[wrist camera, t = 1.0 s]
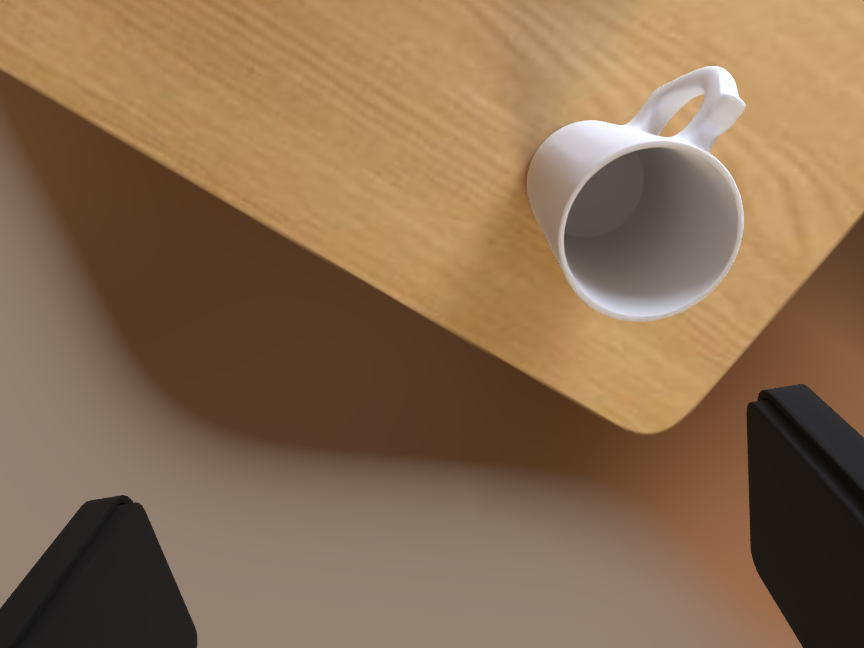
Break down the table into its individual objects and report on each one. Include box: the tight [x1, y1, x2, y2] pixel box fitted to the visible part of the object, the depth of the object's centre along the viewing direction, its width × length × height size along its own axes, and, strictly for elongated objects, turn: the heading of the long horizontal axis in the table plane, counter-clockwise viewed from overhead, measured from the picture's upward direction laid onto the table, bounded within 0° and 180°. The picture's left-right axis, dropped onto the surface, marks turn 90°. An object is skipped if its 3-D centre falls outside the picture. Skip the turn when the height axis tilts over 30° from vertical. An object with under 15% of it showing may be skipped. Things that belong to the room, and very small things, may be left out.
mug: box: [527, 66, 745, 322], centre depth 30 cm, size 10×7×12 cm, turn 148°
